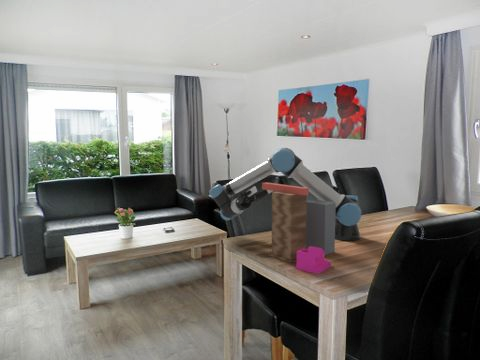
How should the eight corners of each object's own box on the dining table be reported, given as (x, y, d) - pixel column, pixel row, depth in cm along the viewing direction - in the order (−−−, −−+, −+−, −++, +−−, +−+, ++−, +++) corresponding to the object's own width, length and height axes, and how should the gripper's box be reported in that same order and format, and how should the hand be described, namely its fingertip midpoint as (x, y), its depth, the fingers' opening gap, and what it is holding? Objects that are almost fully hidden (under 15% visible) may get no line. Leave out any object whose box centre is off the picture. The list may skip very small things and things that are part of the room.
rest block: (304, 249, 192) (304, 201, 189) (314, 246, 197) (315, 199, 194) (324, 255, 183) (325, 204, 180) (334, 252, 188) (335, 202, 185)
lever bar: (262, 189, 189) (262, 182, 189) (266, 188, 191) (266, 182, 191) (304, 195, 170) (304, 188, 169) (308, 194, 172) (308, 187, 171)
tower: (268, 255, 183) (268, 192, 180) (285, 250, 191) (286, 189, 187) (291, 262, 173) (292, 195, 169) (308, 257, 181) (309, 192, 177)
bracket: (318, 274, 159) (319, 249, 158) (296, 268, 166) (296, 245, 164) (331, 266, 169) (331, 242, 168) (309, 261, 175) (310, 239, 174)
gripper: (260, 207, 211) (286, 191, 196) (224, 214, 194) (249, 197, 179) (256, 194, 213) (281, 178, 198) (219, 200, 196) (244, 182, 181)
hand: (266, 187), depth 188 cm, fingers open, 13 cm apart
